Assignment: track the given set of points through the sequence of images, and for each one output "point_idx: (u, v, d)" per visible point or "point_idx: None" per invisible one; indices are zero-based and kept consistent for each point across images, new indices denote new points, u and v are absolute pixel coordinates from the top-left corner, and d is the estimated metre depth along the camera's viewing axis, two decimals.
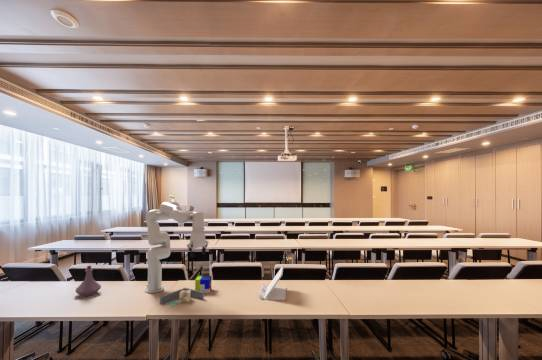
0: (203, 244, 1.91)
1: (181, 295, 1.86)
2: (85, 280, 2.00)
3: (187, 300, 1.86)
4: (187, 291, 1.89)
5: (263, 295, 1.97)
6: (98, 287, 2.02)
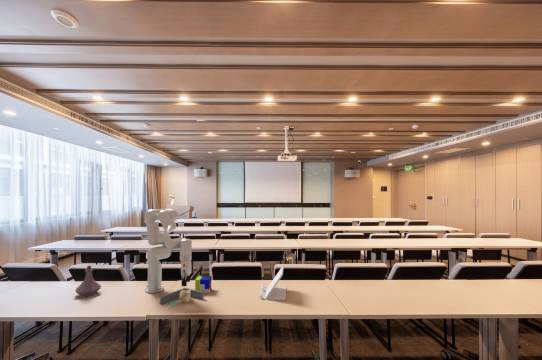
0: None
1: (181, 295, 1.86)
2: (85, 280, 2.00)
3: (187, 300, 1.86)
4: (187, 291, 1.89)
5: (263, 295, 1.97)
6: (98, 287, 2.02)
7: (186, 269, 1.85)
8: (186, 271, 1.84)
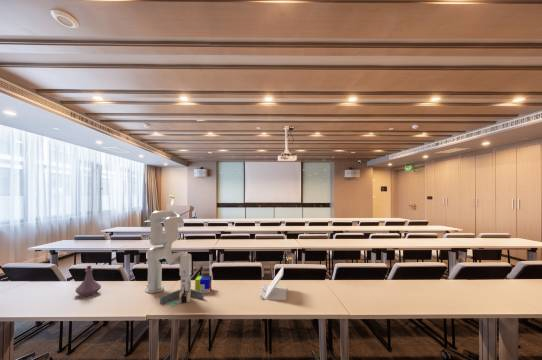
0: None
1: None
2: (85, 280, 2.00)
3: (187, 300, 1.86)
4: None
5: (264, 295, 1.96)
6: (98, 287, 2.02)
7: (185, 284, 1.84)
8: (185, 287, 1.84)
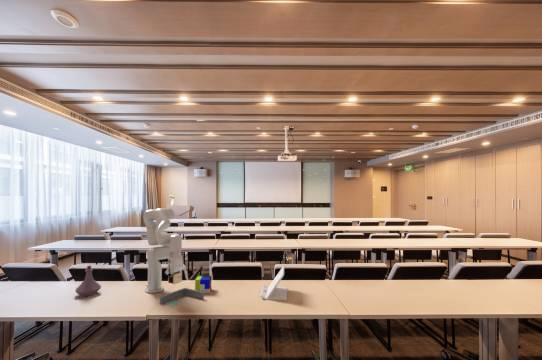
0: None
1: None
2: (85, 280, 2.00)
3: (173, 282, 1.82)
4: (176, 273, 1.85)
5: (265, 295, 1.96)
6: (98, 287, 2.02)
7: (170, 265, 1.81)
8: (170, 267, 1.81)
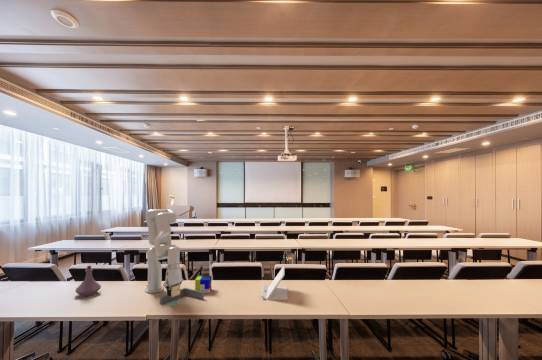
0: None
1: None
2: (85, 280, 2.00)
3: (171, 294, 1.81)
4: (175, 285, 1.84)
5: (265, 295, 1.96)
6: (98, 287, 2.02)
7: (168, 278, 1.80)
8: (168, 280, 1.80)
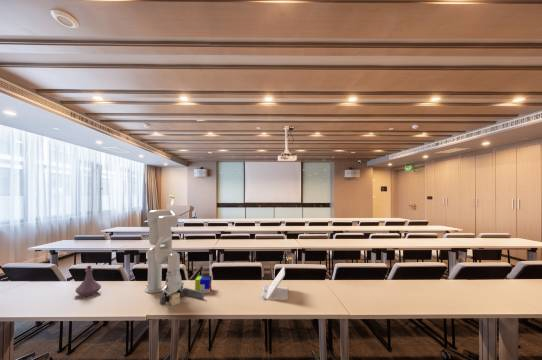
0: None
1: None
2: (85, 280, 2.00)
3: (171, 303, 1.81)
4: (174, 294, 1.84)
5: (265, 295, 1.96)
6: (98, 287, 2.02)
7: (168, 285, 1.80)
8: (168, 287, 1.80)
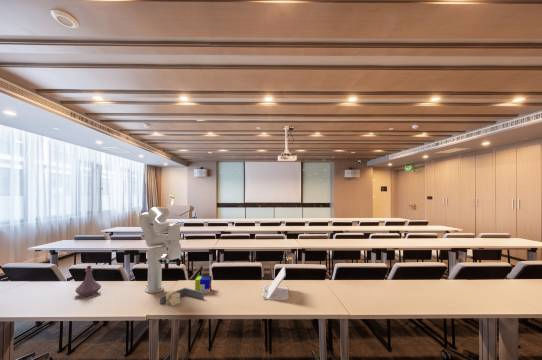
0: None
1: (167, 297, 1.83)
2: (85, 280, 2.00)
3: (171, 303, 1.81)
4: (174, 294, 1.84)
5: (266, 295, 1.96)
6: (98, 287, 2.02)
7: (168, 253, 1.87)
8: (168, 255, 1.87)
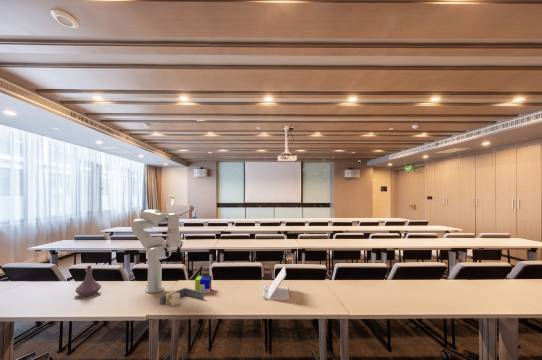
0: None
1: (167, 297, 1.83)
2: (85, 280, 2.00)
3: (171, 303, 1.81)
4: (174, 294, 1.84)
5: (266, 295, 1.96)
6: (98, 287, 2.02)
7: (168, 241, 1.95)
8: (168, 243, 1.95)
